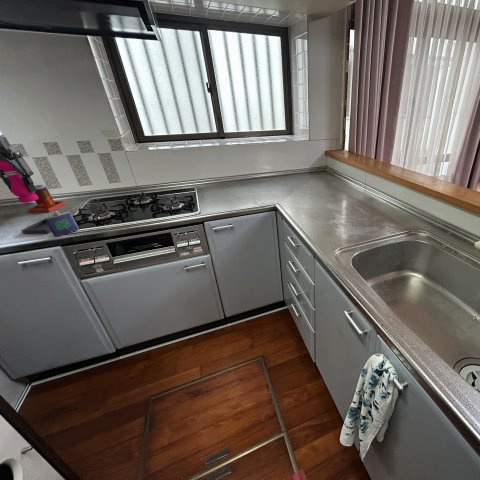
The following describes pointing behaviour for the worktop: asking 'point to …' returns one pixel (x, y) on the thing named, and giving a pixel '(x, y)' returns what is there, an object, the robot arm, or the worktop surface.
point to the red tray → (37, 209)
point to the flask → (61, 223)
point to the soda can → (43, 197)
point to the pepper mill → (17, 183)
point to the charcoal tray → (37, 228)
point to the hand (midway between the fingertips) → (24, 191)
